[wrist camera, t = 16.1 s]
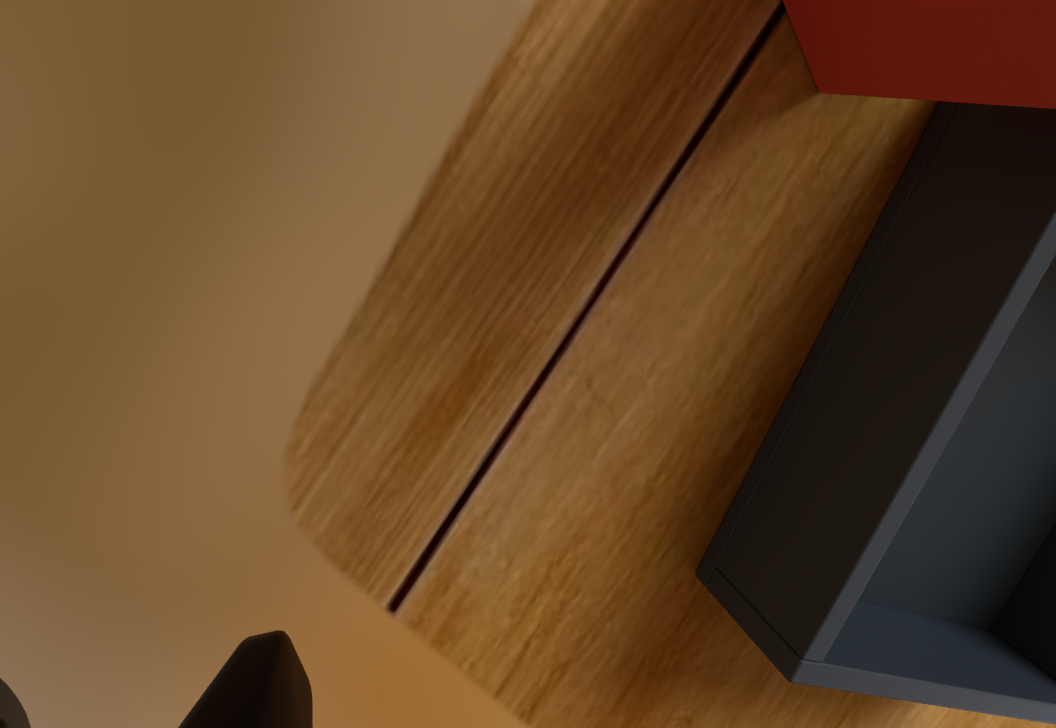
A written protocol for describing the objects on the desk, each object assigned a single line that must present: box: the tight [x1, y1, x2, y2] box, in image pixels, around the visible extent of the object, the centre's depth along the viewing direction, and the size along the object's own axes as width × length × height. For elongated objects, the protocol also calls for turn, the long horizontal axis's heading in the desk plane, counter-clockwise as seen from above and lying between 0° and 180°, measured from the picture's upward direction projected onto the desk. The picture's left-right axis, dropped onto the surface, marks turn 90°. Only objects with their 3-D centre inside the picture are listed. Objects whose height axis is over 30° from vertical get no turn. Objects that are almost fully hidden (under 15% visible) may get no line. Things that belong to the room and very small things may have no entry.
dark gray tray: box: [696, 101, 1056, 724], centre depth 23 cm, size 15×13×5 cm
